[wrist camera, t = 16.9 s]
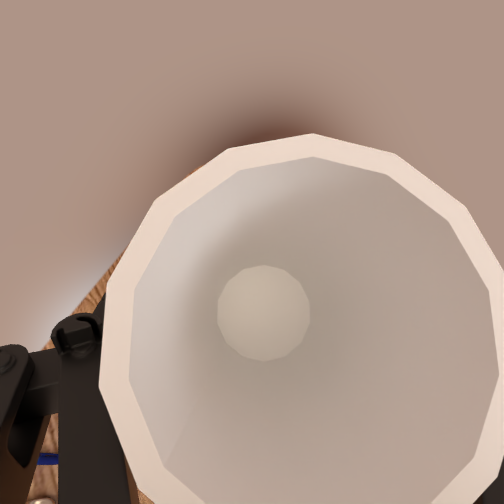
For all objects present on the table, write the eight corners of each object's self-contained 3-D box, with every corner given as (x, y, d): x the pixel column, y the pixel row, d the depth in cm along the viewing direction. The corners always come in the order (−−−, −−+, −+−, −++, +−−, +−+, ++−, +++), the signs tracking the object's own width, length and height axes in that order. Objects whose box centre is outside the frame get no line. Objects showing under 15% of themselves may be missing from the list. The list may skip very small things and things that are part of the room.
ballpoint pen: (65, 461, 30) (67, 450, 30) (60, 466, 29) (62, 455, 29) (-46, 462, 29) (-44, 451, 29) (-54, 467, 28) (-52, 456, 29)
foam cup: (361, 301, 20) (593, 302, 7) (276, 420, 18) (375, 698, 6) (250, 213, 20) (278, 65, 8) (159, 322, 19) (0, 367, 6)
